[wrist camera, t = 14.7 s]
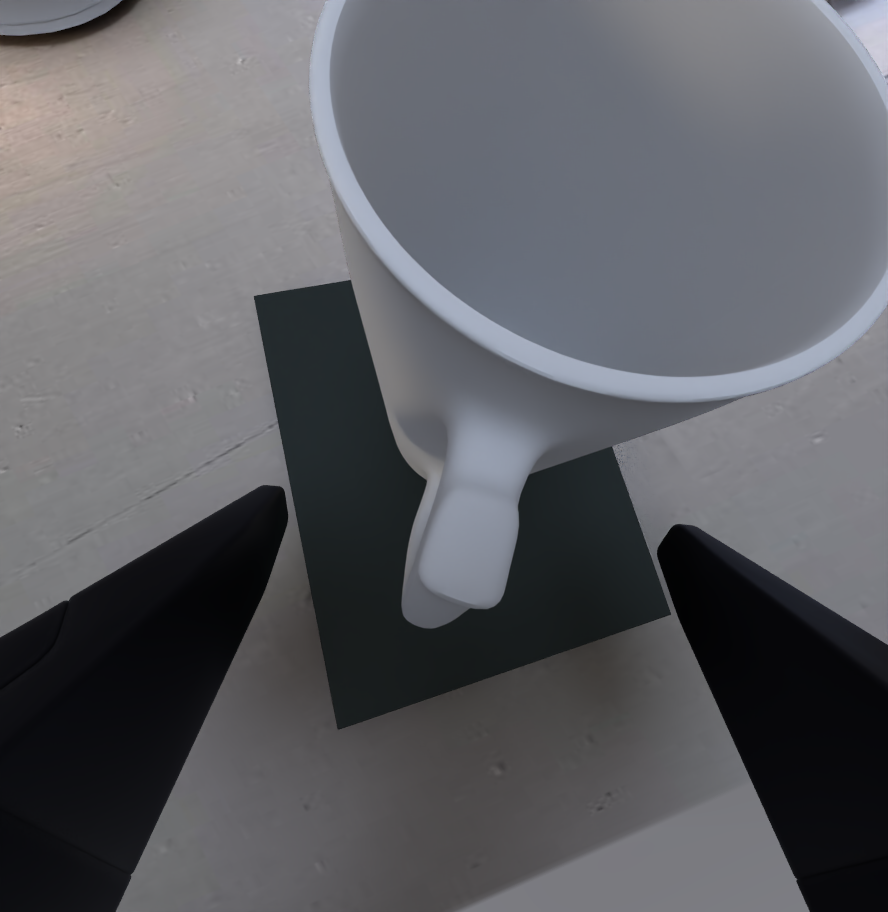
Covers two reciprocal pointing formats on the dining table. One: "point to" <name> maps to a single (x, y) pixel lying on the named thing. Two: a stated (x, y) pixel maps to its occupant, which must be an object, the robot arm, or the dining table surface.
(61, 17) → the chalice
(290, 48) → the dining table surface
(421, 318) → the mug
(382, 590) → the mat
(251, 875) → the dining table surface
